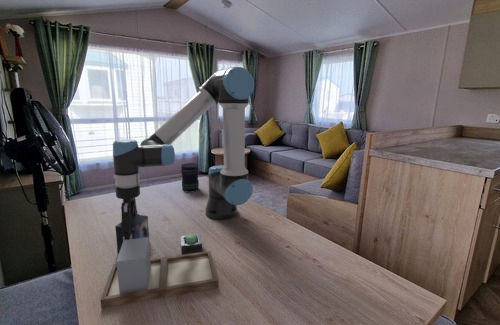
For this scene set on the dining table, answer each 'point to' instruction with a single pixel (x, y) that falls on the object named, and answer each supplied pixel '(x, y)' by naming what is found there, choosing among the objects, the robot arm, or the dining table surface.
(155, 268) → the frame
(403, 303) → the dining table surface
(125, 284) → the billet
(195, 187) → the storage jar
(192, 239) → the button
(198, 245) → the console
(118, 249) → the small box
